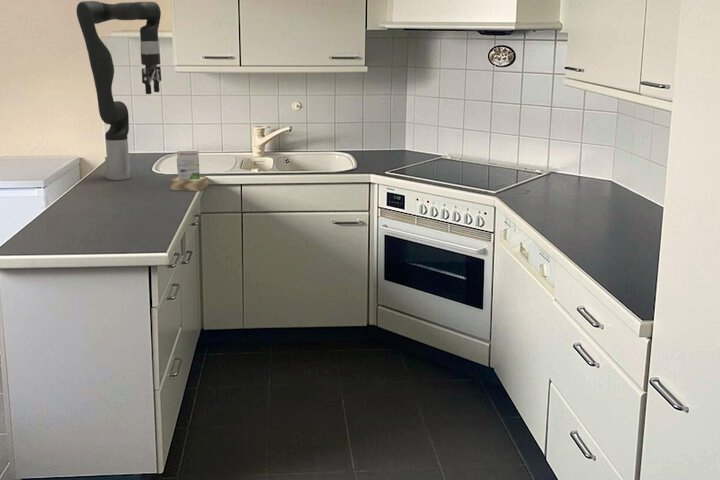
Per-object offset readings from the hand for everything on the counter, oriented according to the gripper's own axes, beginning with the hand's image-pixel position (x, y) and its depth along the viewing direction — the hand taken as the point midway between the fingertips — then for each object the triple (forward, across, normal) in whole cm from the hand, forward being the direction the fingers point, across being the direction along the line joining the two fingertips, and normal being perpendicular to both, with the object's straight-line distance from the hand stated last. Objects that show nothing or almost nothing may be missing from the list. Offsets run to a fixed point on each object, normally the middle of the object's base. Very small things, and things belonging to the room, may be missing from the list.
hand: (152, 93), depth 351 cm
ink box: (+34, +6, +16) cm, 38 cm away
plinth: (+38, +6, +16) cm, 42 cm away
